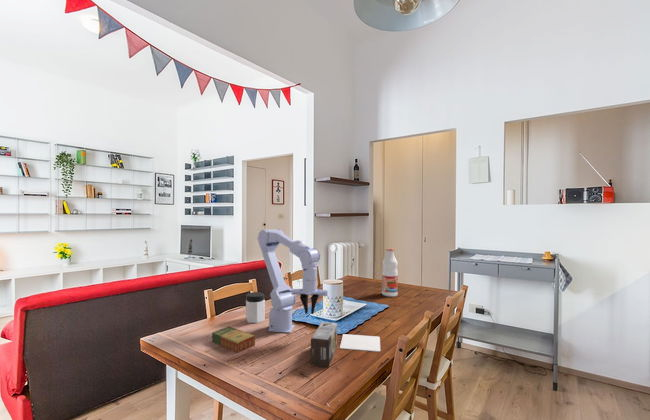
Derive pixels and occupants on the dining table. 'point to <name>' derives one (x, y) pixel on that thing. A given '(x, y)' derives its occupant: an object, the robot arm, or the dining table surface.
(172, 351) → the dining table surface
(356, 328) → the dining table surface
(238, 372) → the dining table surface
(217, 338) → the carton
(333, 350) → the coffee box
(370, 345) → the mat
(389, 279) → the fruit juice
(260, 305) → the jar
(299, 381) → the dining table surface
